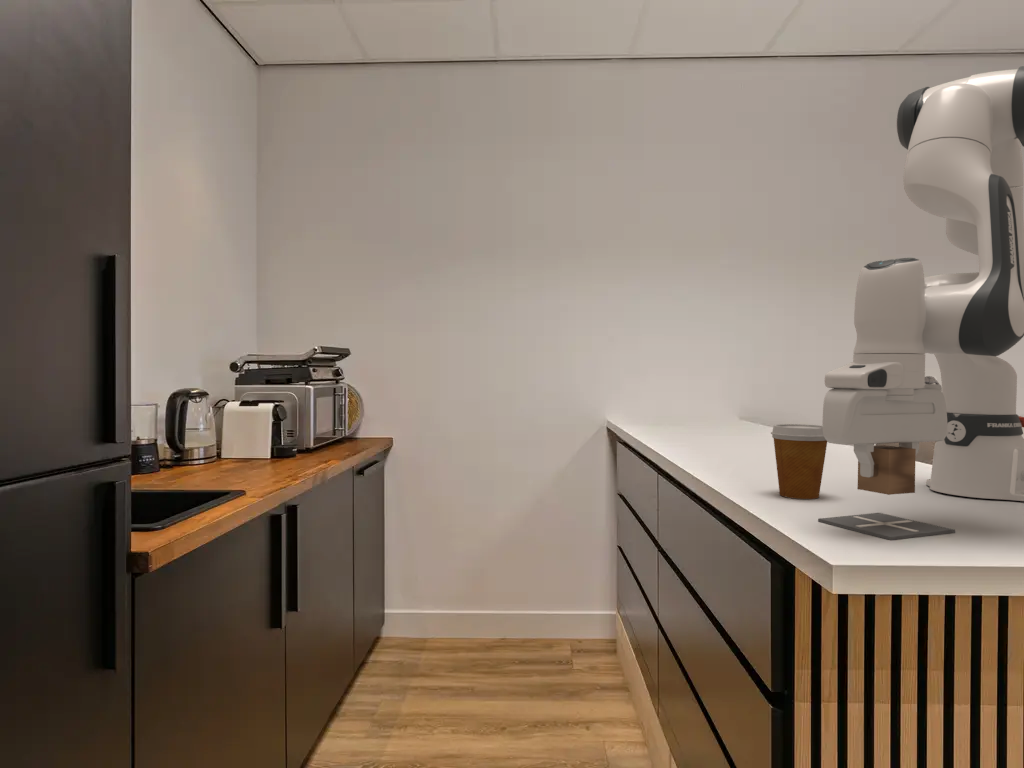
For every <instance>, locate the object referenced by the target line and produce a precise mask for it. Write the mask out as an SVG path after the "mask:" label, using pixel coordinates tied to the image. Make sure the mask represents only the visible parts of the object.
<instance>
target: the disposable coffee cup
mask: <svg viewBox="0 0 1024 768" xmlns="http://www.w3.org/2000/svg"><path fill="white" fill-rule="evenodd" d="M770 434H771V435H772V436H771V437H772V438H773V445H774V454H775V464H776V472H777V482H778V490H779V495H780V496H781V497H784V498H789V499H797V500H815V499H818V498H820V493H821V486H822V479H823V472H824V467H825V466H824V465H825V459H826V453H827V447H828V446H827V445H828V442H827V440H826V439H825V437H824V435H823V425H818V424H817V425H816V424H814V425H813V424H798V423H797V424H796V423H795V424H794V423H793V424H792V423H790V424H789V423H785V424H783V423H782V424H780V423H779V424H774V425H773V428H772V431H770Z"/></svg>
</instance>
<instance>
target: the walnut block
mask: <svg viewBox="0 0 1024 768" xmlns="http://www.w3.org/2000/svg"><path fill="white" fill-rule="evenodd" d="M871 455H872V458H873V461H874V464H879V469H878V476H877V477H863V476H861V475H860V463H859V461H858V460H857V490H860V491H861V490H862V491H866V492H872V493H877V494H883V495H887V496H888V495H889V496H890V495H901V494H914V493H915V494H916V459H917V455H916V449H913V448H904V447H899V446H893V445H886V444H885V445H884V444H883V445H880V444H878V445H874V452H871Z"/></svg>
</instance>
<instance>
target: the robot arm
mask: <svg viewBox="0 0 1024 768" xmlns="http://www.w3.org/2000/svg"><path fill="white" fill-rule="evenodd" d="M895 126H896V133H897V136H898V141H899V143H900V145H901V146H902V147H903V148H904V149H906V150H907V153H906V158H905V162H904V163H905V164H904V168H903V176H902V177H903V189H904V192H905V193H906V196H907V197H908V199H909V200H910V201H911V202H912V203H913V205H914V206H916V207H918V208H919V209H921V210H922V211H924V212H926V213H928V214H929V215H930V214H931V215H933V216H936V217H939V218H944V219H945V223H946V224H945V233H946V234H945V235H946V237H947V240H948V241H949V242H950V243H951V244H952V245H953V246H954V247H956V248H959V249H961V250H962V251H965V252H967V253H971V254H973V255H977V256H978V271H977V272H976V271H975V272H961V273H959V272H958V273H957V272H956V273H940V274H934V275H931V276H930V275H929V276H925V274H924V268H923V263H922V261H921V260H920V259H919V258H915V257H902V258H892V259H885V260H877V261H876V260H875V261H872V262H869V263H867V264H865V265H864V266H863V267H862V268H861V269H860V272H859V276H858V279H857V284H856V291H855V297H854V312H853V313H854V314H853V315H854V316H853V319H854V320H853V324H854V327H855V331H856V342H855V346H854V349H853V354H852V355H853V357H852V359H853V361H852V362H848V363H846V364H844V365H843V366H840V367H837V368H835V369H833V370H830V371H828V372H826V373H825V375H824V385H825V388H826V387H827V388H828V391H827V392H826V393H825V395H824V399H823V407H822V426H823V435H824V437H825V439H826V440H827V444H834V445H843V446H849V445H852V446H853V452H854V454H855V457H856V459H857V462H858V461H859V463H860V475H861V476H863V477H877V476H878V469H879V464H874V461H873V458H872V455H871V452H874V446H875V445H877V444H878V445H880V444H883V445H884V444H898V447H904V448H913V449H916V456H917V455H918V453H919V451H920V443H930V442H935V444H934V450H933V457H932V464H931V473H930V478H927V479H926V480H925V485H926V486H928V487H929V490H931V491H935V492H936V493H937V492H938V493H943V494H947V495H953V496H959V497H967V498H975V499H976V498H977V499H987V500H988V499H990V500H1006V501H1018V502H1019V501H1020V502H1024V437H1023V436H1022V435H1024V432H1023V428H1024V416H1021V415H1020V416H1019V415H1018V414H1017V392H1018V389H1017V387H1018V374H1017V372H1016V369H1015V368H1014V366H1012V364H1010V363H1009V362H1008V361H1006V360H1004V359H1002V358H1000V357H998V356H1000V355H1003V354H1004V353H1005V352H1007V351H1008V350H1010V349H1012V348H1013V347H1014V346H1016V344H1017V343H1019V341H1021V340H1022V338H1024V208H1023V206H1024V198H1023V197H1024V165H1023V163H1024V162H1023V154H1022V147H1024V66H1019V67H1018V68H1016V69H1005V70H996V71H988V72H980V73H976V74H972V75H970V76H968V77H964V78H960V79H959V78H958V79H955V80H951V81H949V82H944V83H941V84H938V85H935V86H933V87H930V86H925V87H921V88H920V89H917V90H915V91H913V92H911V93H908V95H907V96H906V97H905V98H904V100H902V101H901V103H900V105H899V107H898V110H897V117H896V125H895ZM1021 146H1022V147H1021ZM926 354H931V355H934V357H935V359H936V361H937V364H938V366H939V371H940V372H939V373H940V379H941V384H940V383H939V381H938V380H936V378H935V377H934V376H930V375H927V376H926Z"/></svg>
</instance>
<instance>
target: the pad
mask: <svg viewBox="0 0 1024 768" xmlns="http://www.w3.org/2000/svg"><path fill="white" fill-rule="evenodd" d="M817 522H818V523H823V524H827V525H831V526H834V527H838V528H841V529H842V528H843V529H846V530H851V531H854V532H858V533H862V534H866V535H870V536H872V537H873V536H874V537H876V538H882V539H884V540H889V541H896V540H903V539H911V538H912V539H913V538H919V537H920V538H921V537H928V536H936V535H944V534H945V535H946V534H954V533H956V529H954V528H950V527H945V526H941V525H935V524H932V523H927V522H923V521H918V520H914V519H909V518H905V517H901V516H897V515H896V516H895V515H892V514H891V515H890V514H887V513H882V512H873V513H863V514H853V515H843V516H842V515H841V516H840V515H839V516H832V517H820V518H818V519H817Z"/></svg>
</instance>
